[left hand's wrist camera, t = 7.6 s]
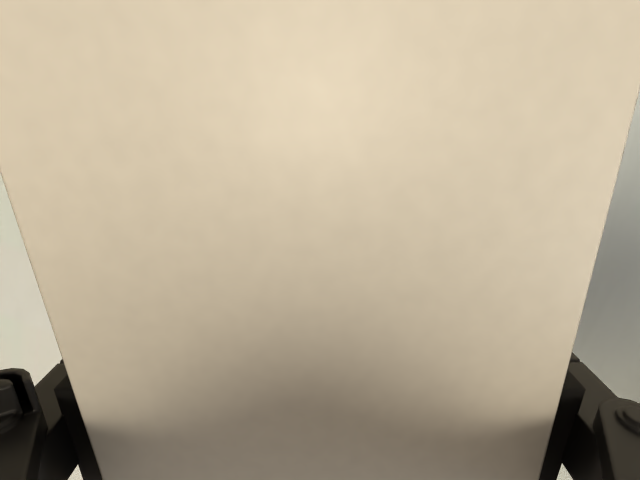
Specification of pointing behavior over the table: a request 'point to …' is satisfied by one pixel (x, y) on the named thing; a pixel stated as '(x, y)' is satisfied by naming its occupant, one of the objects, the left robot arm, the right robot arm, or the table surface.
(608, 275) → the table surface
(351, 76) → the long beige bar
